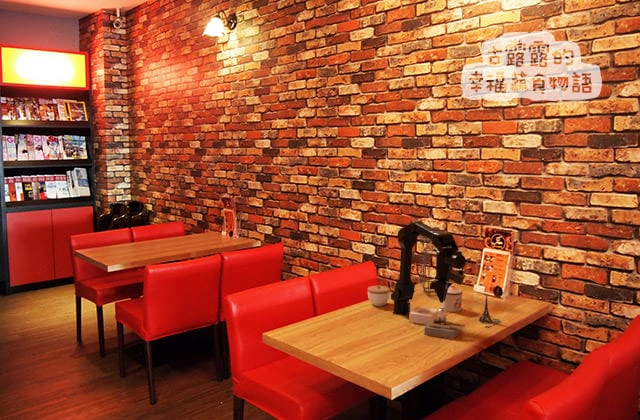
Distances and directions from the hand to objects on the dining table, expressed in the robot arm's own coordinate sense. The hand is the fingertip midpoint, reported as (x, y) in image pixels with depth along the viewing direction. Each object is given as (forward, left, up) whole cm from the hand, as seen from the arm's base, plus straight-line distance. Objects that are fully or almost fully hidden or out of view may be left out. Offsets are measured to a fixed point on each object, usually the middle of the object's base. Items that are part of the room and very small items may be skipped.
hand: (442, 301), depth 219 cm
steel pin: (0, 0, -13) cm, 13 cm away
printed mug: (-3, +34, -13) cm, 37 cm away
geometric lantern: (-17, +54, -13) cm, 58 cm away
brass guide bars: (+2, 0, -10) cm, 10 cm away
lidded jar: (-37, +26, -13) cm, 47 cm away
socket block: (0, 0, -13) cm, 13 cm away
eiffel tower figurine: (+14, +22, -14) cm, 30 cm away
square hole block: (-11, +12, -13) cm, 21 cm away
